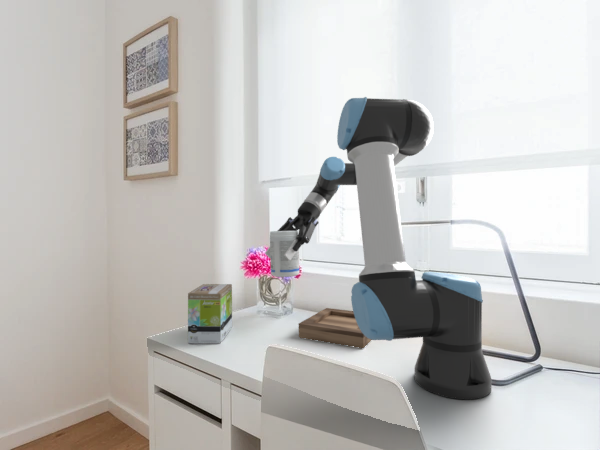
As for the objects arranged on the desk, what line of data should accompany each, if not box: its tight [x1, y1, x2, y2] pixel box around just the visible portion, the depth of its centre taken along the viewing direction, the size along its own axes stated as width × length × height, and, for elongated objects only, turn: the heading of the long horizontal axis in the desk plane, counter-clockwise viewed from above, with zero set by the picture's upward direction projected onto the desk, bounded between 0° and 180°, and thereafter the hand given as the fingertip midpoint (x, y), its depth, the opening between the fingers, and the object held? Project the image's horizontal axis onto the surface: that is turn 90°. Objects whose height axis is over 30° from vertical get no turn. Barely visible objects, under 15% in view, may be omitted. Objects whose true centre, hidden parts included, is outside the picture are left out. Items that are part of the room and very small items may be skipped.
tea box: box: [187, 283, 233, 345], centre depth 109 cm, size 15×10×15 cm, turn 179°
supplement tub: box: [269, 230, 300, 278], centre depth 118 cm, size 10×10×15 cm
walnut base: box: [298, 307, 372, 349], centre depth 110 cm, size 20×20×4 cm
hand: (277, 256), depth 116 cm, fingers closed on supplement tub, 9 cm apart
